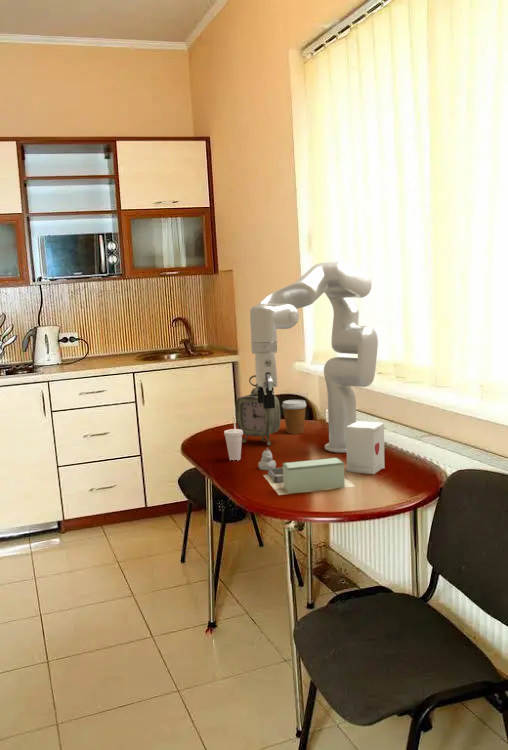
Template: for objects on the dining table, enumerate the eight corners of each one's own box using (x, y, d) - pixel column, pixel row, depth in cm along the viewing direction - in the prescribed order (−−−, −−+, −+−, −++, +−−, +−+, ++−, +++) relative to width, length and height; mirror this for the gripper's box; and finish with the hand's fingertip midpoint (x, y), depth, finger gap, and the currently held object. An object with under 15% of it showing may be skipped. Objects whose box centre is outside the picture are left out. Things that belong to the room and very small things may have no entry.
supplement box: (374, 478, 207) (373, 428, 205) (346, 475, 212) (344, 426, 210) (385, 470, 215) (384, 422, 213) (358, 467, 220) (357, 420, 217)
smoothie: (242, 461, 232) (240, 420, 230) (223, 461, 233) (221, 420, 231) (246, 456, 238) (244, 416, 236) (227, 456, 239) (225, 416, 237)
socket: (296, 471, 214) (296, 465, 213) (304, 479, 205) (304, 473, 205) (268, 474, 212) (267, 468, 212) (274, 483, 203) (274, 476, 203)
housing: (337, 481, 202) (337, 457, 201) (344, 487, 196) (343, 462, 195) (283, 487, 199) (282, 462, 198) (289, 493, 193) (288, 468, 192)
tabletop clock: (237, 443, 257) (233, 376, 253) (251, 438, 264) (247, 372, 261) (270, 447, 249) (267, 377, 245) (284, 441, 256) (281, 374, 253)
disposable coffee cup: (308, 434, 266) (307, 403, 264) (283, 435, 266) (281, 404, 264) (306, 429, 275) (305, 398, 273) (282, 430, 275) (281, 400, 273)
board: (333, 471, 216) (332, 467, 216) (355, 490, 197) (355, 485, 196) (263, 479, 212) (262, 474, 211) (279, 499, 192) (278, 494, 192)
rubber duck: (263, 475, 216) (262, 450, 214) (255, 470, 222) (254, 445, 220) (279, 472, 217) (278, 447, 216) (271, 467, 224) (270, 443, 222)
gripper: (282, 349, 199) (284, 409, 201) (271, 344, 216) (273, 400, 218) (256, 351, 197) (258, 411, 200) (246, 346, 214) (249, 401, 217)
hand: (266, 405), depth 209 cm, fingers open, 9 cm apart
